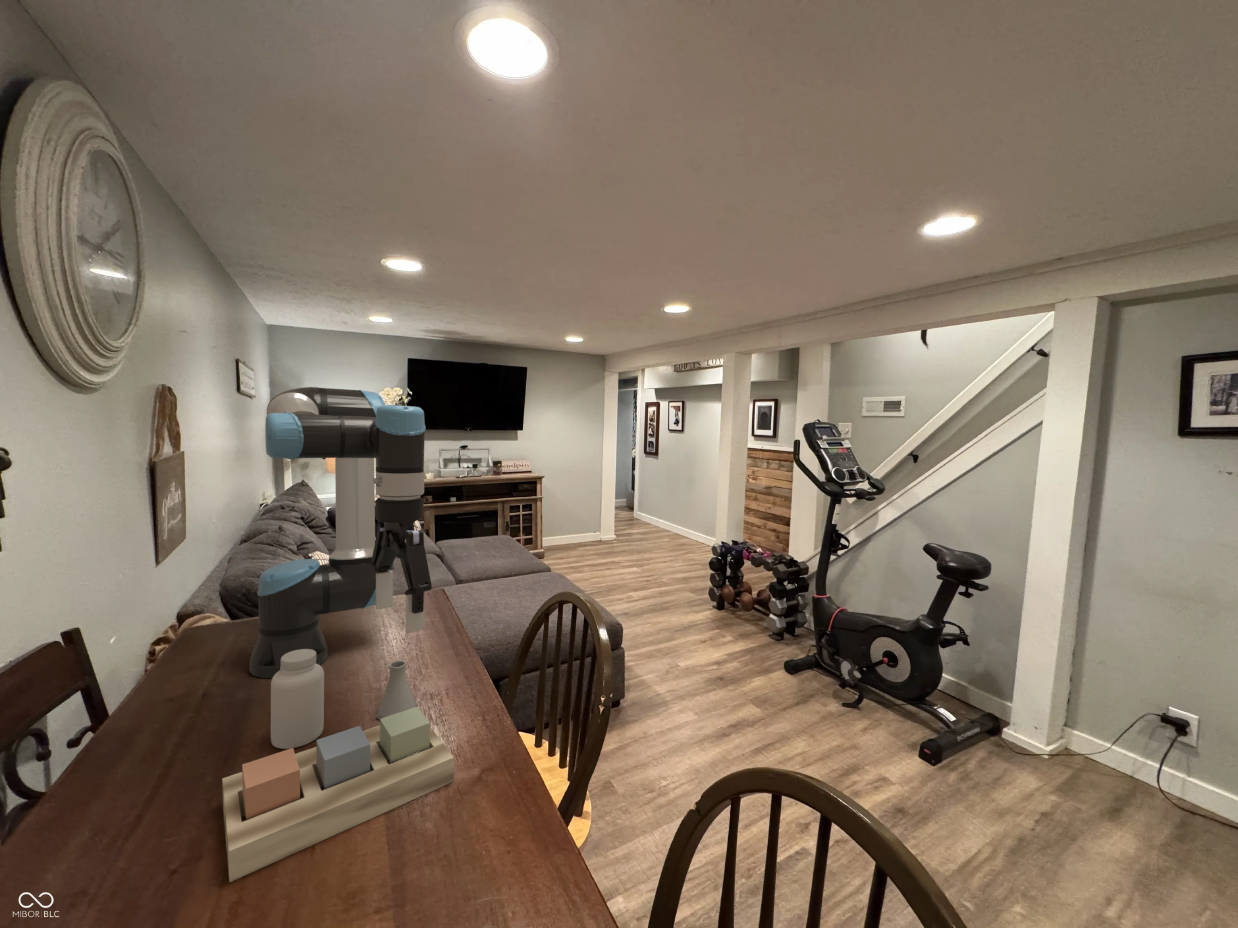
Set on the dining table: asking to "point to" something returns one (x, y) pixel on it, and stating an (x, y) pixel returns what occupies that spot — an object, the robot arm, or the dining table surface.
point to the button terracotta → (270, 782)
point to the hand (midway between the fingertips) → (398, 618)
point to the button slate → (343, 756)
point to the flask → (396, 692)
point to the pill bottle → (297, 700)
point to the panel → (328, 803)
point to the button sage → (404, 734)
